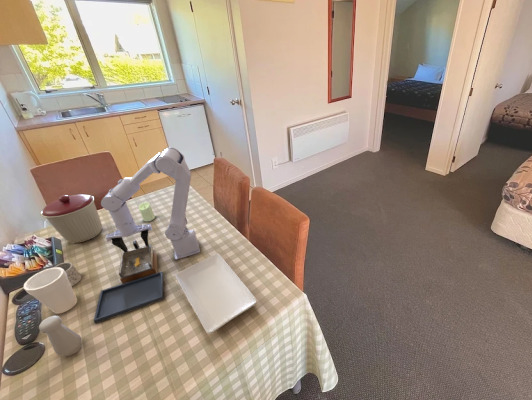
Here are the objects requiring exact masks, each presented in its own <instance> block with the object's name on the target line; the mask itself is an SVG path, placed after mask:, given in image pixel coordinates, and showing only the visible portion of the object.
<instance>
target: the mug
mask: <svg viewBox="0 0 532 400" xmlns="http://www.w3.org/2000/svg"><path fill="white" fill-rule="evenodd" d="M54 267H60V268H62V269H64V271H65V272H66V274H67V277H68V280H69V282H70V284H71V287H73V286H75V285H76V284H78V283H79V282H80V281H81V279H82V275H81V274H80V273H79V271H78V270H77V268H76V267H75V266H74V263H73V262H71V261H65V262H61V263H59V264H57V265H54Z"/></svg>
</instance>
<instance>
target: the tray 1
mask: <svg viewBox="0 0 532 400" xmlns="http://www.w3.org/2000/svg"><path fill="white" fill-rule="evenodd" d="M164 291H165V289H164V272H163V271H159V272H158V271H157V273H155V274H152V275H149V276H146V277H143V278H139V279H136V280H133V281H130V282H127V283H124V284H122V283H121V284H118V285H115V286H111V287H108V288H105V289H101V290H100V293H99V297H98V301H97V305H96V310H95V314H94V318H93V322H94V323H95V324H98V323H100V322H104V321H107V320H109V319H112V318H115V317H117V316H120V315H124V314H127V313H129V312H132V311H136V310H138V309H141V308H143V307H146V306H149V305H152V304H154V303H157V302H159V301H163V300H164V299H165V298H164V297H165V296H164V295H165V294H164V293H165V292H164Z"/></svg>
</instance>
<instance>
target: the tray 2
mask: <svg viewBox="0 0 532 400" xmlns="http://www.w3.org/2000/svg"><path fill="white" fill-rule="evenodd" d="M174 278H175V279H176V281H177V282H178V284H179V286H180V288H181V290H182V292H183V293H184V295H185V297H186V299H187V301H188V302H189V304H190V306H191V307H192V310H193V311H194V313H195V314H196V317H197V319H198V320H199V322H200V324H201V326H202V328H203V329H204V332H205V333H207V334H208V335H210V334H213V333H214V332H216V331H218V330H219V329H220V328H221V327H223V326H224V325H226V324H227V323H229V322H230V321H232V320H234V319H235V318H236V317H238V316H239V315H241V314H243V313H244V312H246V311H248V310H250V309H251V308H252V307H254V306H255V305H257V303H258V300H257V298H256V297H255V295H254V294H253V292H251V291H250V289H249V288H248V287H247V285H246V284H245V283H244V282H243V280H242V279H241V278H240V277H239V275H238V274H237V273H236V272H235V271H234V269H232V267H231V266H230V265H229V264H228V262H226V260H225V259H224V257H223V256H222V255H221V254H220V253H219V252H218V253H214V254H212V255H210V256H208V257H206V258H205V259H203V260H200V261H198V262H196V263H194V264H192V265H190V266H188V267H186V268H184V269H182V270H180V271H178V272H176V273H175V274H174Z"/></svg>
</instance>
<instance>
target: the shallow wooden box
mask: <svg viewBox="0 0 532 400" xmlns="http://www.w3.org/2000/svg"><path fill="white" fill-rule="evenodd" d="M155 273H158V253H157V251H156V249H153V269H151V270H148V271H144V272H141V273H138V274H135V275H132V276H128V277H125V278H121V277H120V276H119V281H120V282H121V284H124V283H127V282H130V281H133V280H136V279H139V278H143V277H146V276H149V275H152V274H155Z"/></svg>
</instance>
